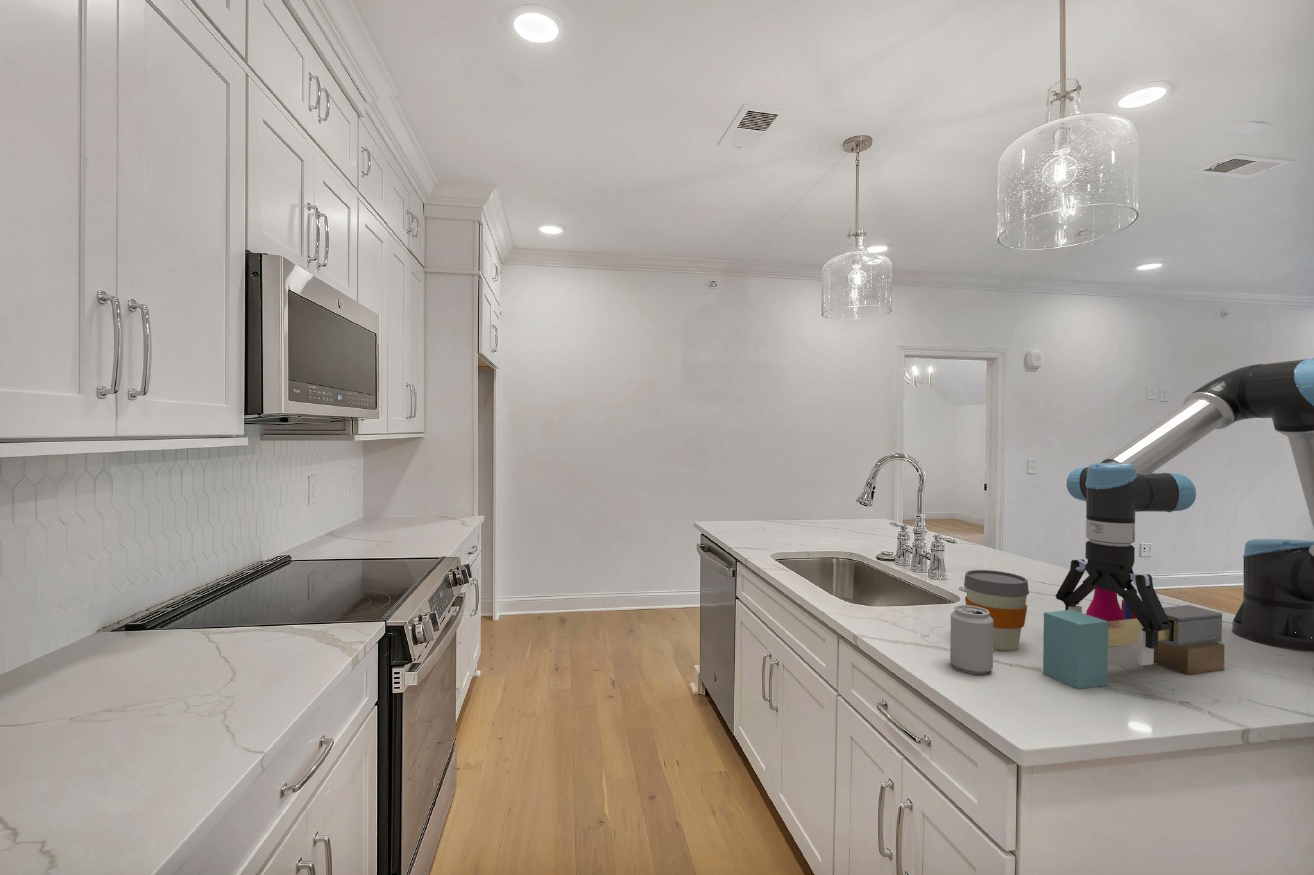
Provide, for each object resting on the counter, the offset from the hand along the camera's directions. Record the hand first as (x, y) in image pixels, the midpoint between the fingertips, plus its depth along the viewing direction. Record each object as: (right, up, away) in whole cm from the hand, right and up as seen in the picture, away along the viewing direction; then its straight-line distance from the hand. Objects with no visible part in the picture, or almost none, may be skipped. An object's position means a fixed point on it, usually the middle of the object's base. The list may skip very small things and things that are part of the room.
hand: (1108, 650), depth 111 cm
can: (-25, -5, +3) cm, 26 cm away
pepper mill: (+15, -5, +19) cm, 25 cm away
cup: (+27, -5, +23) cm, 36 cm away
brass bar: (+5, +2, +1) cm, 5 cm away
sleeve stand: (+20, -5, +5) cm, 21 cm away
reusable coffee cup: (-12, -5, +16) cm, 21 cm away
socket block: (-8, -5, -2) cm, 9 cm away
